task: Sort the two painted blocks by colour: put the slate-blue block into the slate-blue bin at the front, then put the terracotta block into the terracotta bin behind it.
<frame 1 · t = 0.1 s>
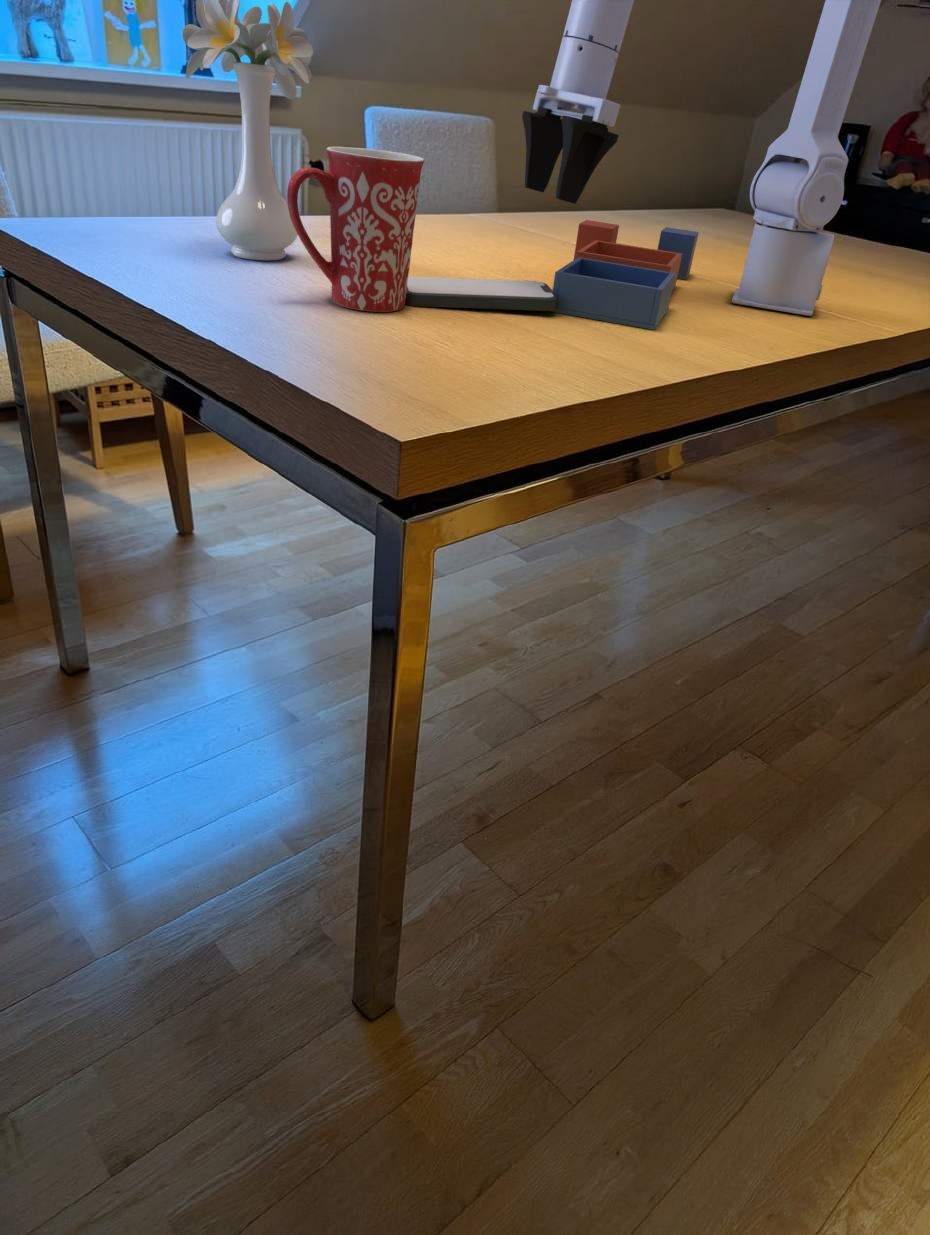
hand: (549, 195, 92), 11 cm above the table, tool pointing down, fingers open, 7 cm apart
flower vase: (256, 256, 103), on the table
mug: (351, 305, 88), on the table
blue block: (671, 274, 120), on the table
blue bin: (610, 310, 97), on the table
terracotta block: (592, 268, 118), on the table
terracotta bin: (624, 286, 109), on the table
phone case: (477, 303, 94), on the table, touching blue bin
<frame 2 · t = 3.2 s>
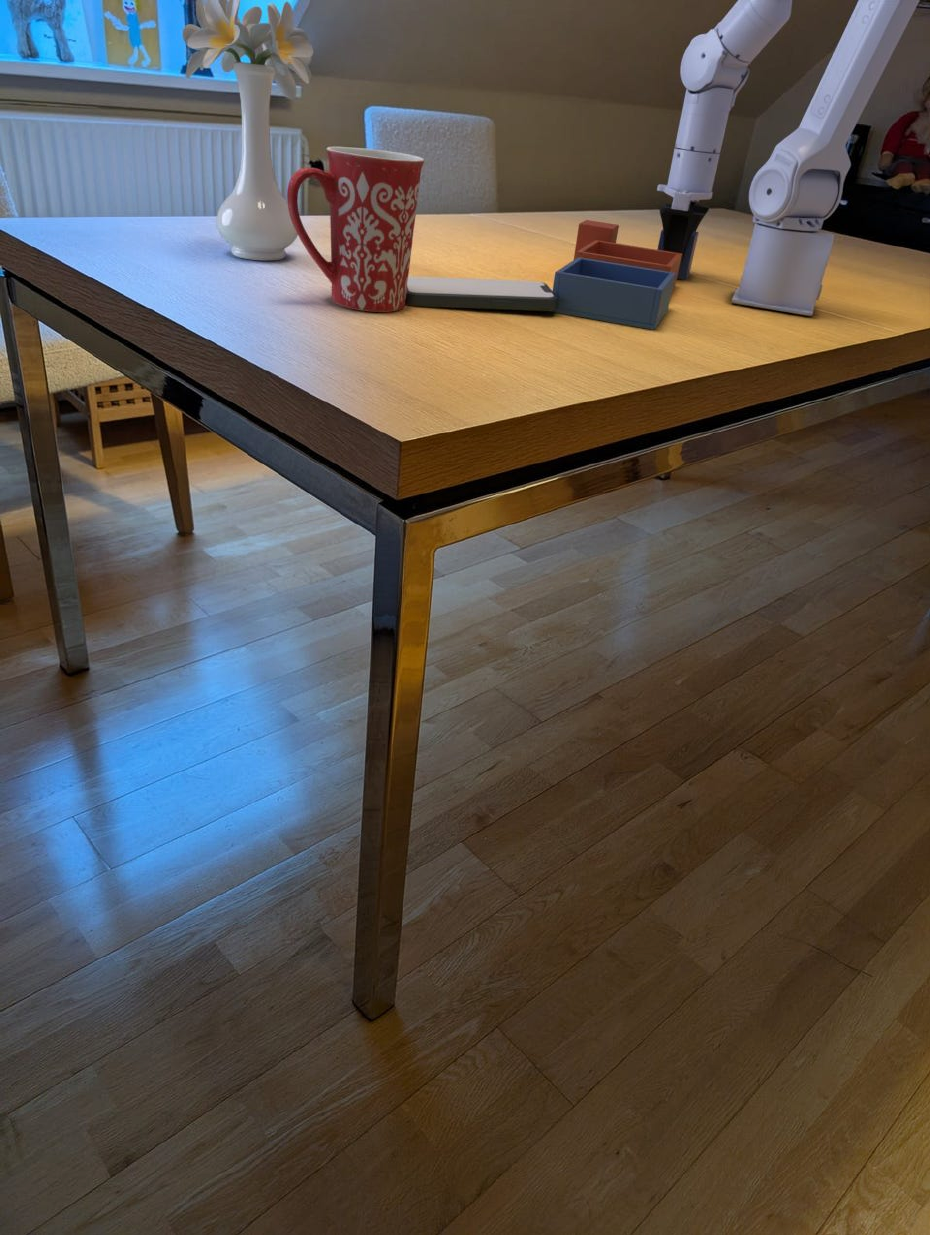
hand: (673, 263, 119), 1 cm above the table, tool pointing down, fingers closed on blue block, 4 cm apart
blue block: (670, 274, 120), on the table, touching gripper
everything else where it was.
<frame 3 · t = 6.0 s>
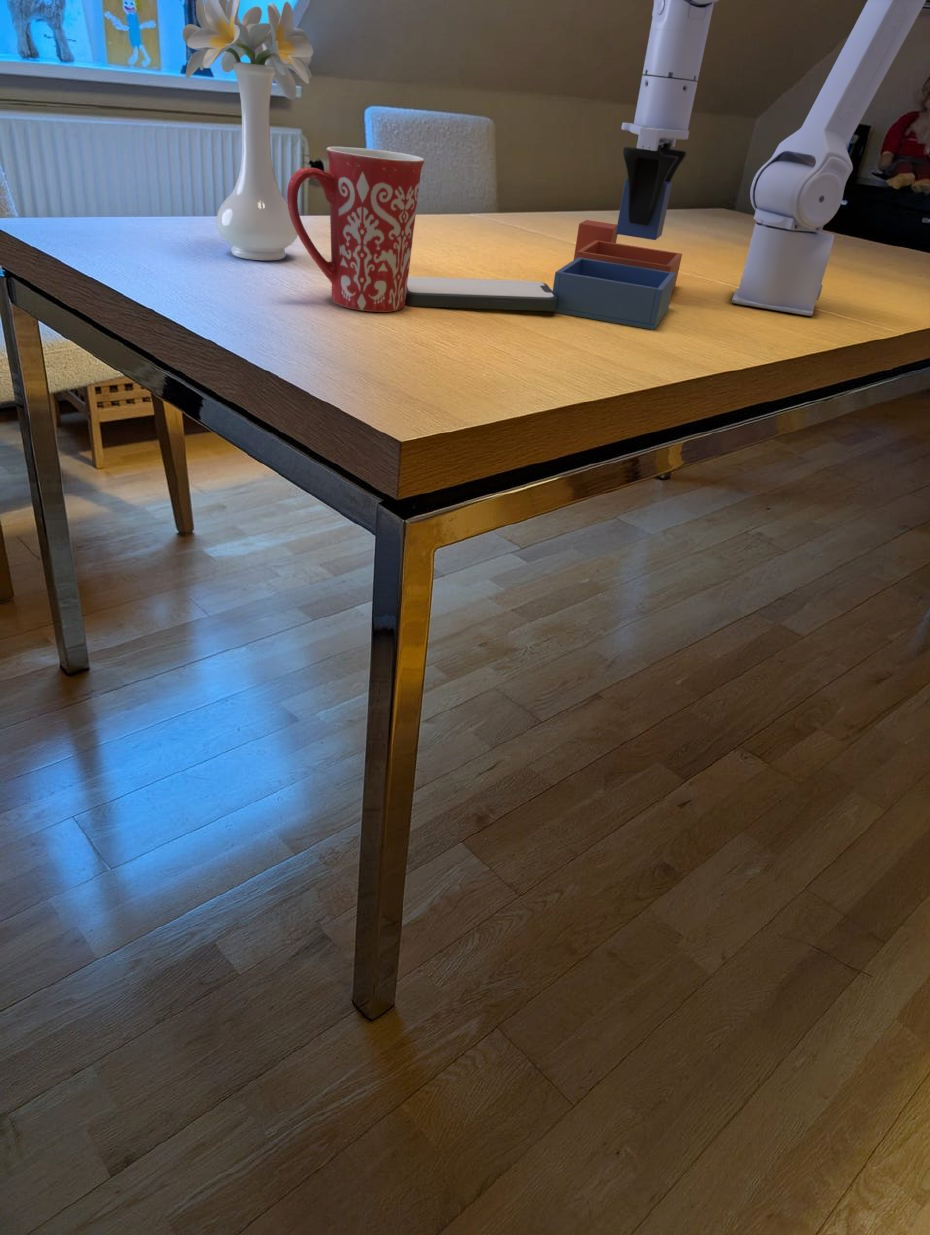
hand: (642, 221, 98), 8 cm above the table, tool pointing down, fingers closed on blue block, 4 cm apart
blue block: (638, 234, 99), point 7 cm above the table, touching gripper
everything else where it was.
when the fingers open (2 cm above the table, at t = 8.8 s): blue block stays where it is, resting on blue bin.
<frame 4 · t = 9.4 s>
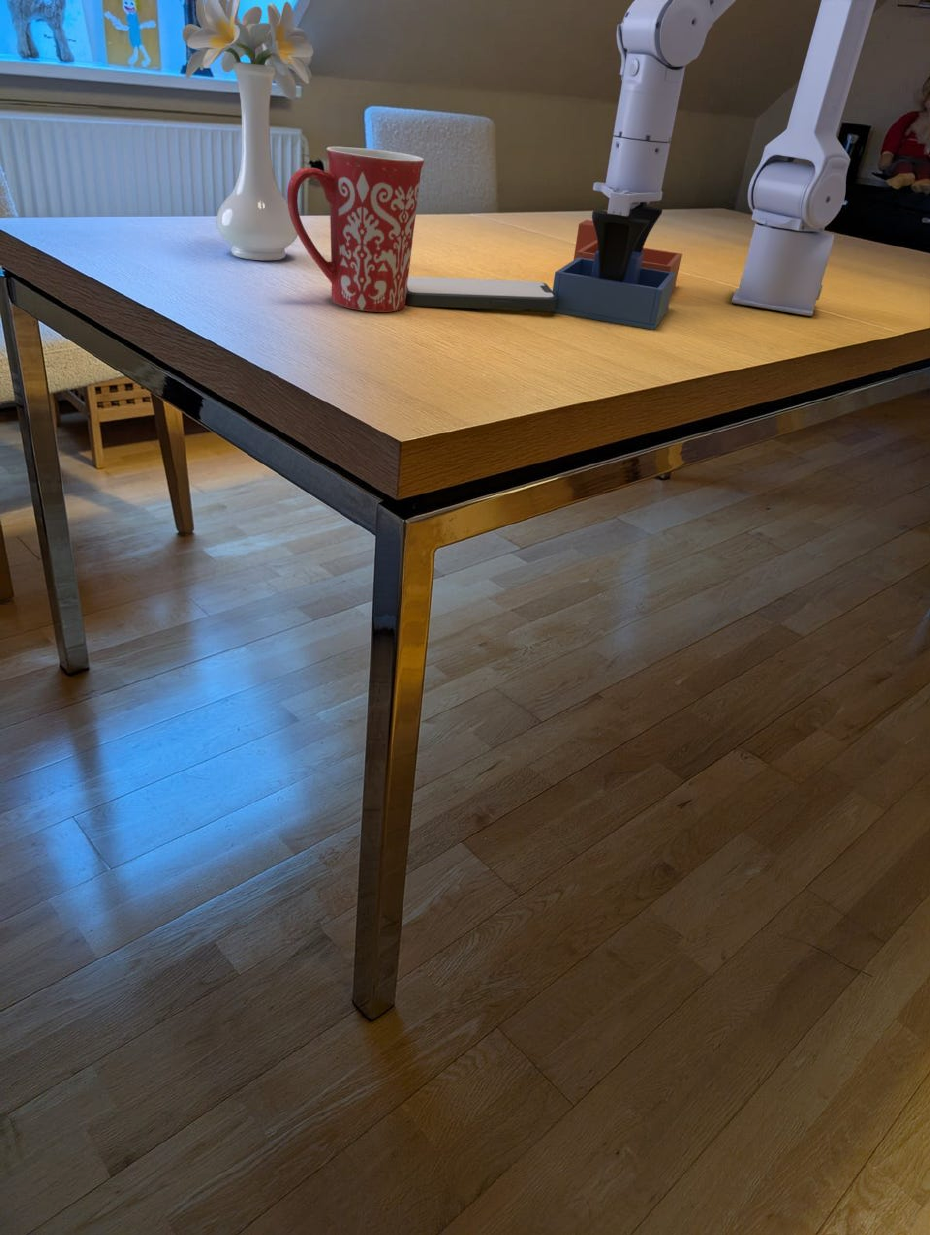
hand: (616, 281, 95), 3 cm above the table, tool pointing down, fingers open, 7 cm apart
blue block: (610, 305, 96), resting on blue bin
everything else where it was.
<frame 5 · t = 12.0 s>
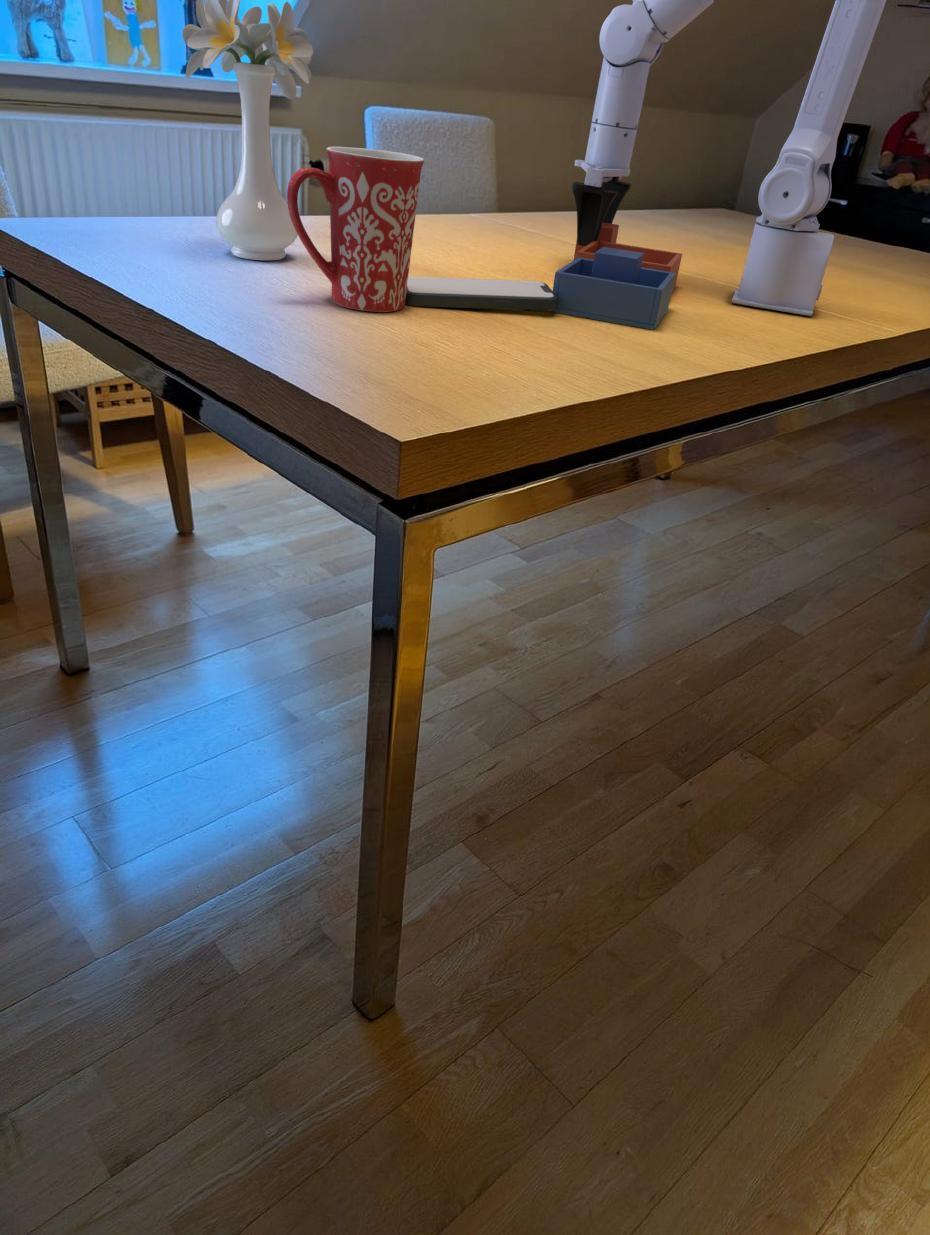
hand: (591, 242, 116), 3 cm above the table, tool pointing down, fingers open, 7 cm apart
nothing on the table moved.
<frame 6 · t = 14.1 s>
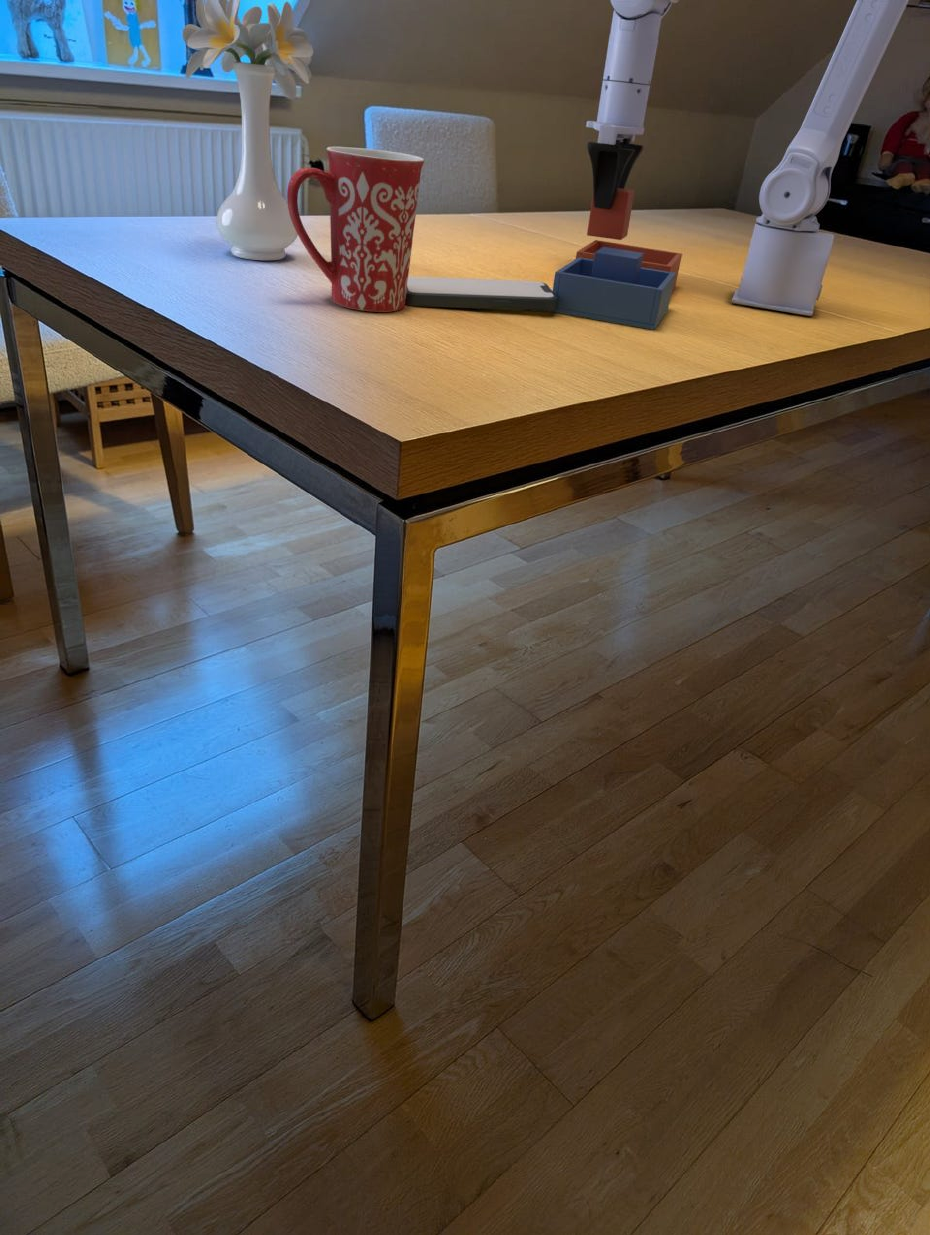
hand: (606, 206, 113), 8 cm above the table, tool pointing down, fingers closed on terracotta block, 4 cm apart
terracotta block: (607, 235, 114), point 4 cm above the table, touching gripper
everything else where it was.
when the fingers open (4 cm above the table, at t = 16.5 s): terracotta block stays where it is, resting on terracotta bin.
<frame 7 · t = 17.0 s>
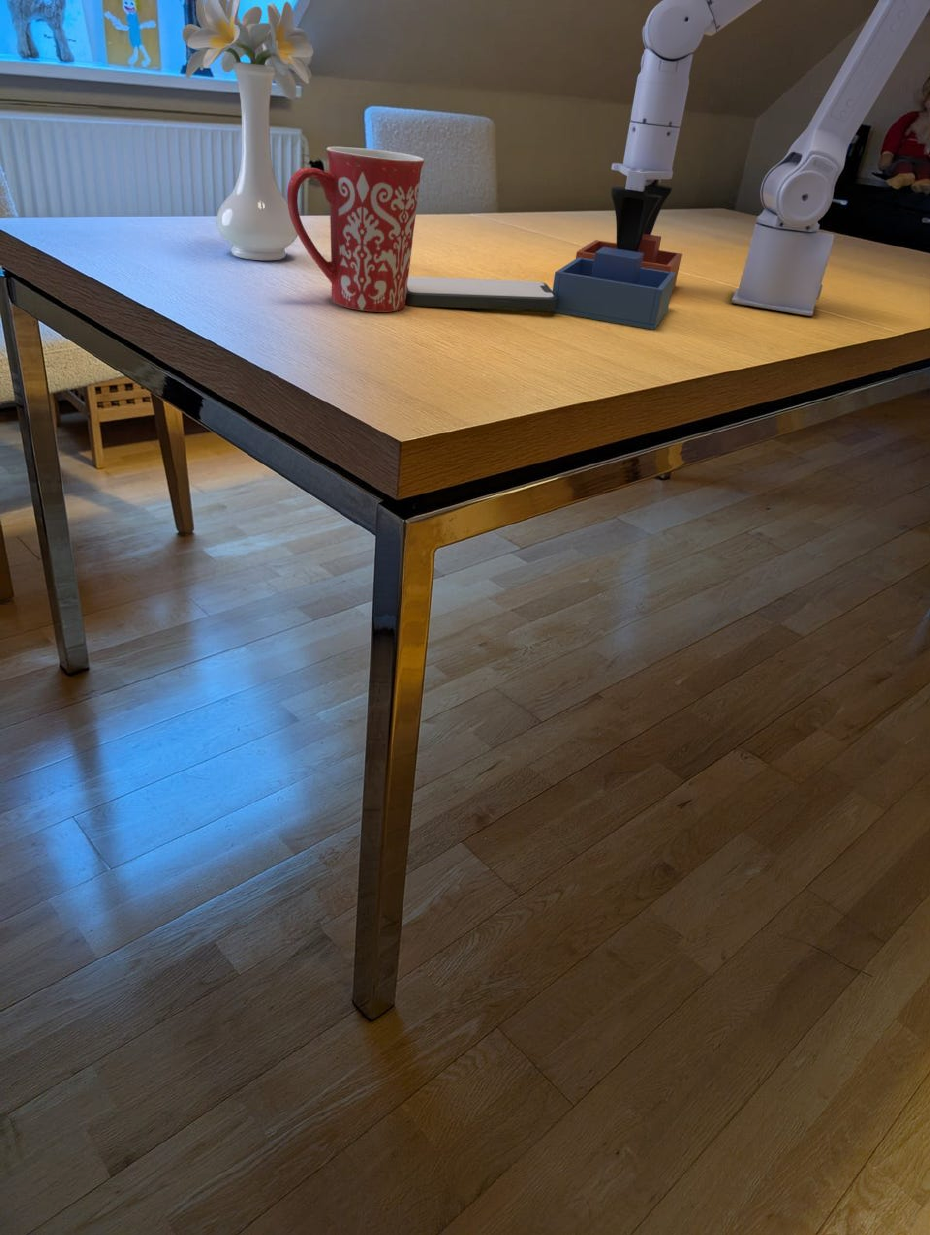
hand: (631, 252, 107), 4 cm above the table, tool pointing down, fingers open, 7 cm apart
terracotta block: (631, 283, 109), resting on terracotta bin
everything else where it was.
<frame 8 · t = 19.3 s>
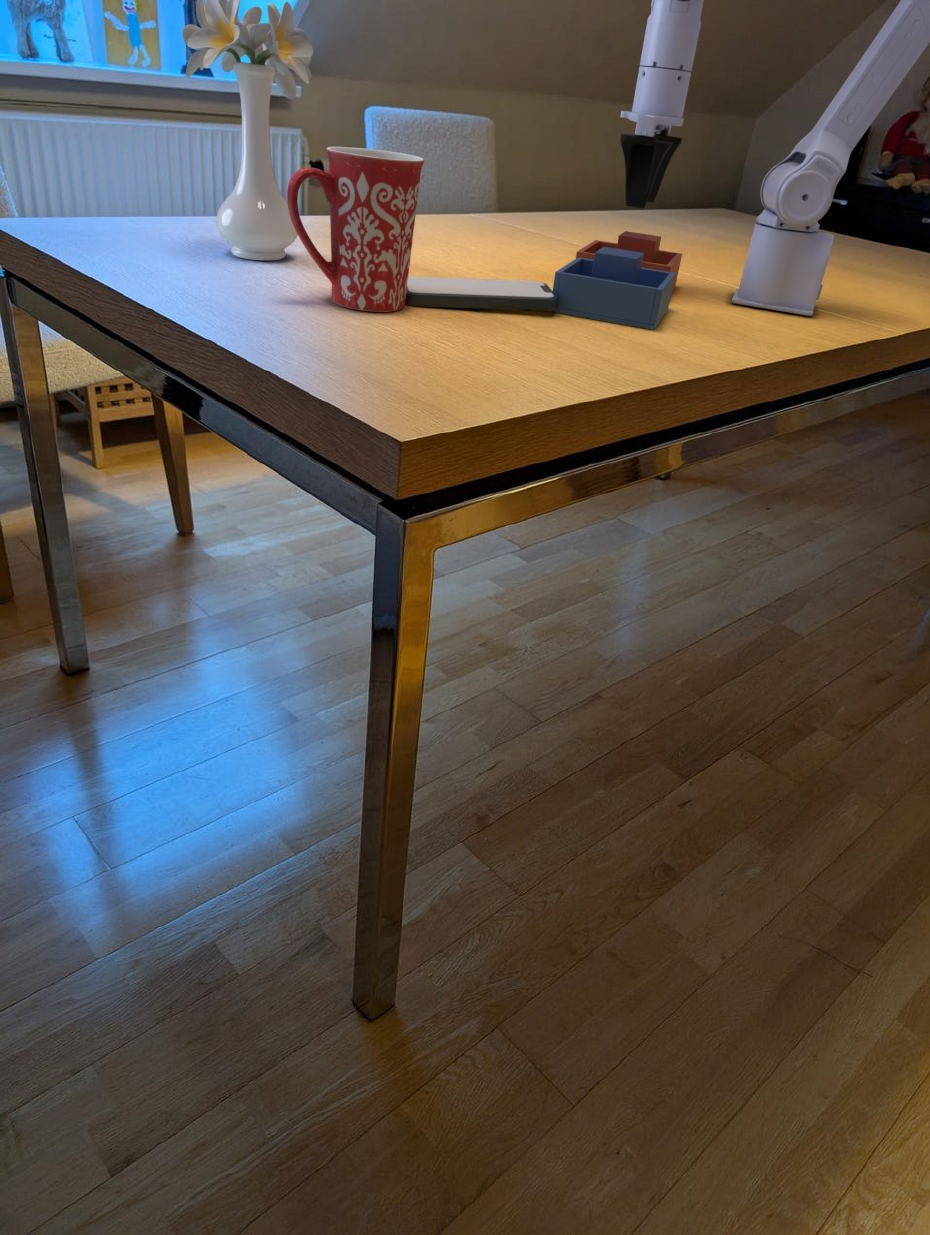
hand: (640, 204, 104), 9 cm above the table, tool pointing down, fingers open, 7 cm apart
nothing on the table moved.
at the end: blue block inside the target area in the blue bin (0.1 cm from its centre), point 0.5 cm above the blue bin's base; terracotta block inside the target area in the terracotta bin (0.7 cm from its centre), point 0.5 cm above the terracotta bin's base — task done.
